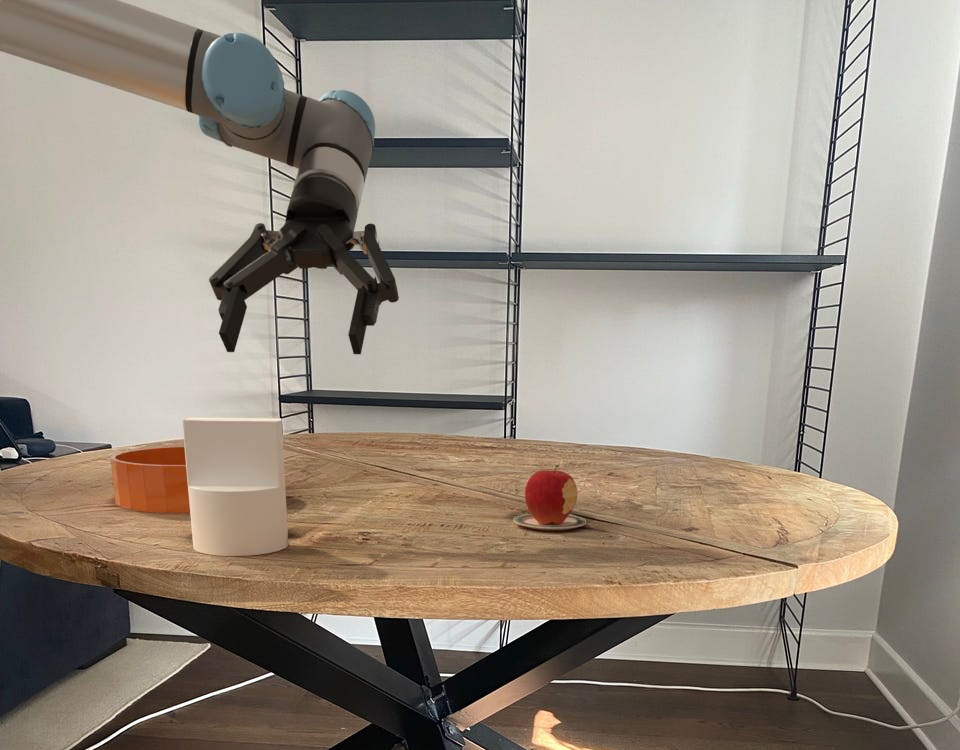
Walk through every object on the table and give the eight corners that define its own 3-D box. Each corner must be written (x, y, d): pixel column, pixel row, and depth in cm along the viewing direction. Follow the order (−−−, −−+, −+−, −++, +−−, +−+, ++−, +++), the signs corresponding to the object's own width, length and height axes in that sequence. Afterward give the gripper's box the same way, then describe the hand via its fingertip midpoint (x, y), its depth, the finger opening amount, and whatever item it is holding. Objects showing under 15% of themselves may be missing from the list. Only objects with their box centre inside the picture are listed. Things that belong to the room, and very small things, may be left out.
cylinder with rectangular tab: (294, 535, 93) (288, 415, 89) (281, 556, 85) (274, 424, 81) (204, 535, 93) (195, 414, 89) (183, 556, 84) (171, 423, 80)
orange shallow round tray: (84, 516, 101) (77, 461, 99) (167, 490, 118) (162, 443, 116) (234, 524, 98) (230, 468, 96) (298, 497, 115) (296, 449, 113)
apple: (582, 519, 104) (585, 461, 102) (589, 533, 97) (593, 471, 94) (512, 517, 104) (514, 460, 102) (514, 532, 97) (516, 470, 94)
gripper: (438, 231, 105) (414, 371, 95) (230, 230, 107) (187, 367, 98) (429, 172, 98) (403, 317, 89) (208, 173, 101) (160, 314, 91)
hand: (289, 344), depth 93 cm, fingers open, 13 cm apart
